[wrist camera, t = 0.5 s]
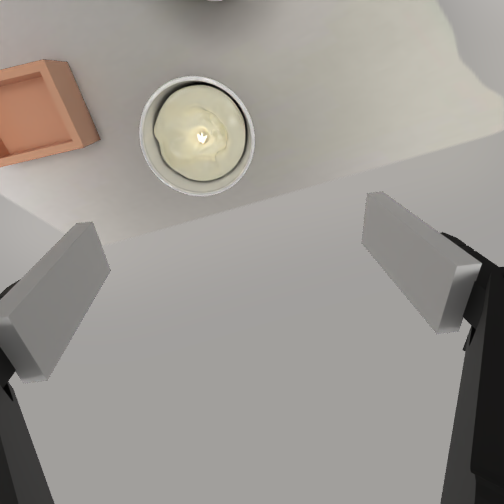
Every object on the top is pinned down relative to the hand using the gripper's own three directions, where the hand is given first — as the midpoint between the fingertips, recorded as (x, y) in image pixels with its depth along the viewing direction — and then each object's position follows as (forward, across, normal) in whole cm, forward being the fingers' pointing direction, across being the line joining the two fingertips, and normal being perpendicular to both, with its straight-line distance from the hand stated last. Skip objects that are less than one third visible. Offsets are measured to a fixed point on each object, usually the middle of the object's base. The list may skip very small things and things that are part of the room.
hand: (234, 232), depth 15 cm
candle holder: (+26, -2, +2) cm, 27 cm away
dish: (+26, -21, +5) cm, 34 cm away
